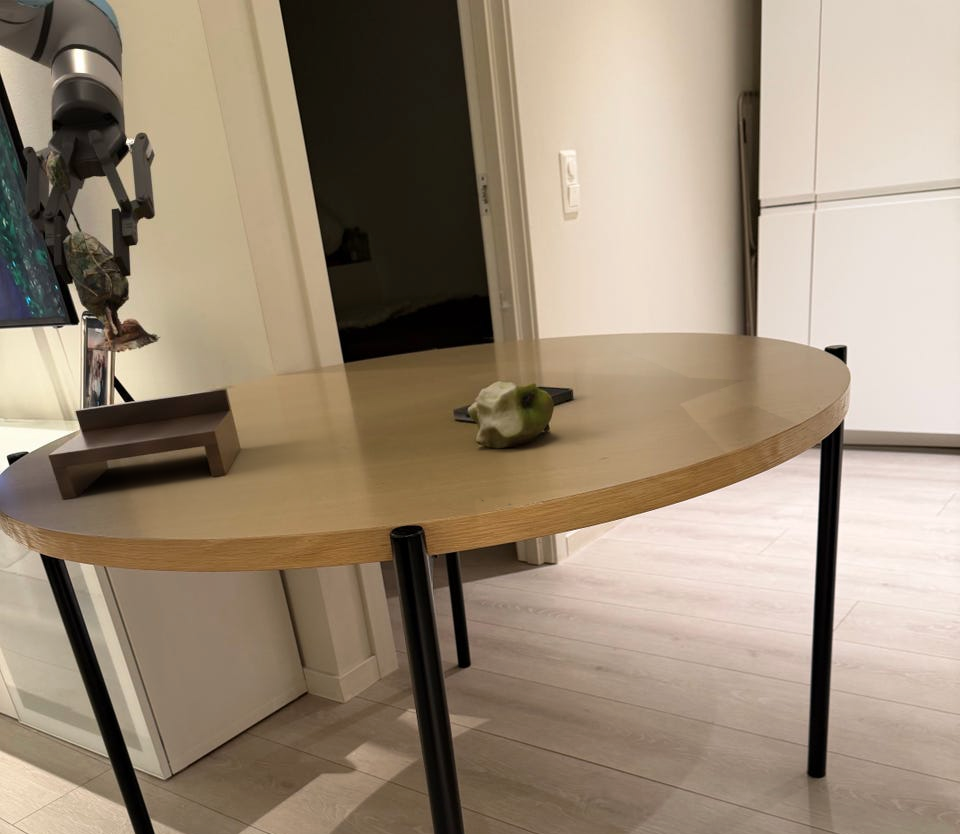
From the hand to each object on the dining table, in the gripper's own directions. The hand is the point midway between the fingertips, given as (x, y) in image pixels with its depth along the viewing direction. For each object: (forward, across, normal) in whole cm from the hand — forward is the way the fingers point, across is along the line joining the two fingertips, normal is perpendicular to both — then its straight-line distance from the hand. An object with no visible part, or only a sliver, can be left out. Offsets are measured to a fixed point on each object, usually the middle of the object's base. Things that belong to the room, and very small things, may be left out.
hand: (93, 270), depth 92 cm
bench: (+13, 0, -19) cm, 23 cm away
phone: (+9, -44, -23) cm, 50 cm away
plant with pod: (+3, 0, -9) cm, 9 cm away
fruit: (+21, -41, -10) cm, 47 cm away
